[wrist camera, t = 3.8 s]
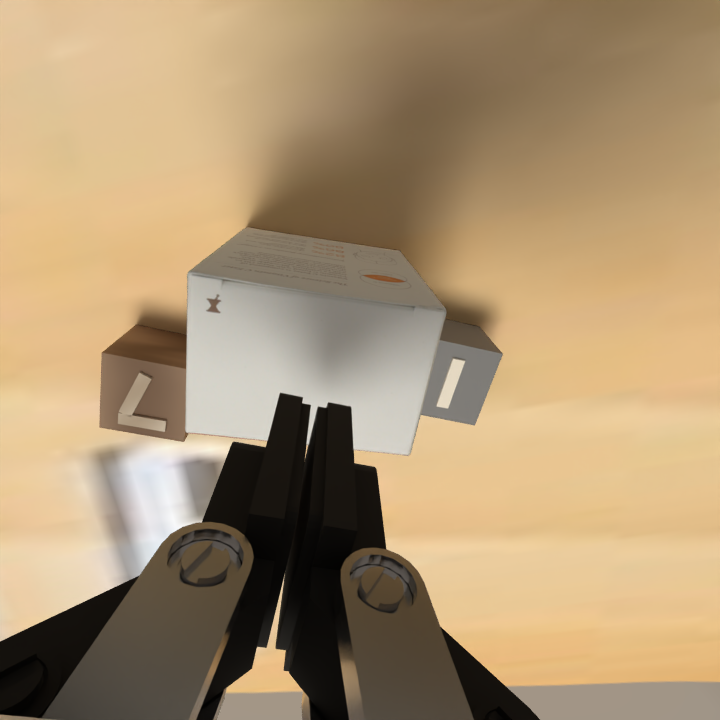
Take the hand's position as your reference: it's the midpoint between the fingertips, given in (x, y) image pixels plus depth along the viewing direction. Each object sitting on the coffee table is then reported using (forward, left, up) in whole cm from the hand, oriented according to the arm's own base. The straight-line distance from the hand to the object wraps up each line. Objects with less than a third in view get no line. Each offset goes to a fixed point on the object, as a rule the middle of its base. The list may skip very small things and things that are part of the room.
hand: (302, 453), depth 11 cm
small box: (0, 0, -15) cm, 15 cm away
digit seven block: (+7, +6, -15) cm, 18 cm away
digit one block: (-7, +2, -15) cm, 16 cm away
